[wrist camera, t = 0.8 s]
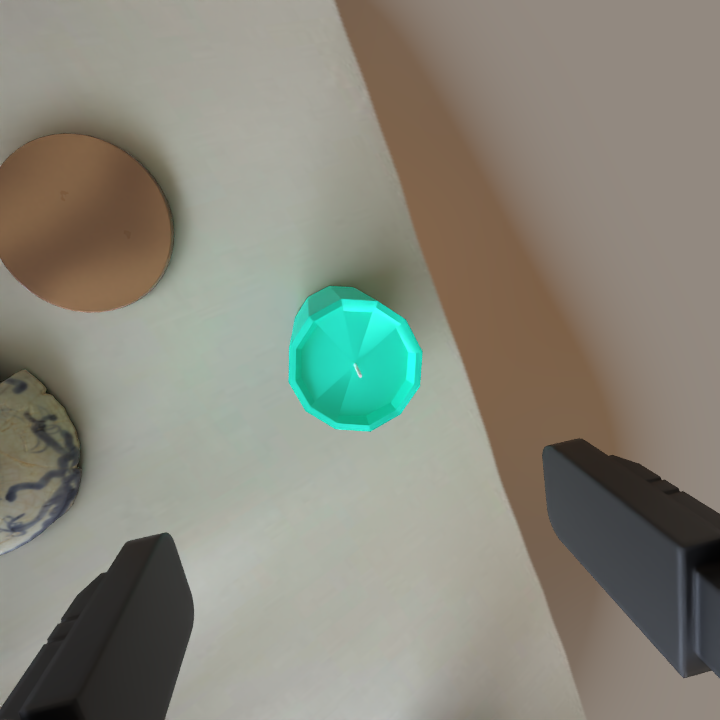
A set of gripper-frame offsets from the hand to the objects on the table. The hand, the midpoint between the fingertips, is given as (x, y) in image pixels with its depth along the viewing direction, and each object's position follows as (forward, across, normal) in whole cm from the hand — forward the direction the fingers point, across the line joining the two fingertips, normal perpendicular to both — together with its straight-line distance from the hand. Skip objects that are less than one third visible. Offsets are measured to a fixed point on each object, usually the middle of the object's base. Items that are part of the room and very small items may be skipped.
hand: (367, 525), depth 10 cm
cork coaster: (+21, +12, -10) cm, 26 cm away
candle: (+21, -1, -1) cm, 21 cm away
